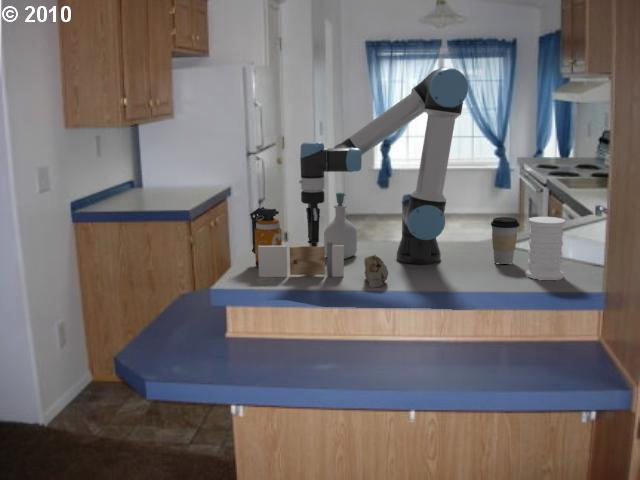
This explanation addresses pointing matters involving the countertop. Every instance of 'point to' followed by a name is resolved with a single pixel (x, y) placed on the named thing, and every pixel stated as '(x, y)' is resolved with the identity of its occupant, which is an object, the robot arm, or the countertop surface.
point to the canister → (265, 229)
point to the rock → (375, 271)
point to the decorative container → (545, 248)
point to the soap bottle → (341, 230)
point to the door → (307, 260)
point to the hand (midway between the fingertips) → (313, 261)
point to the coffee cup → (504, 239)
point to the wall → (276, 260)
